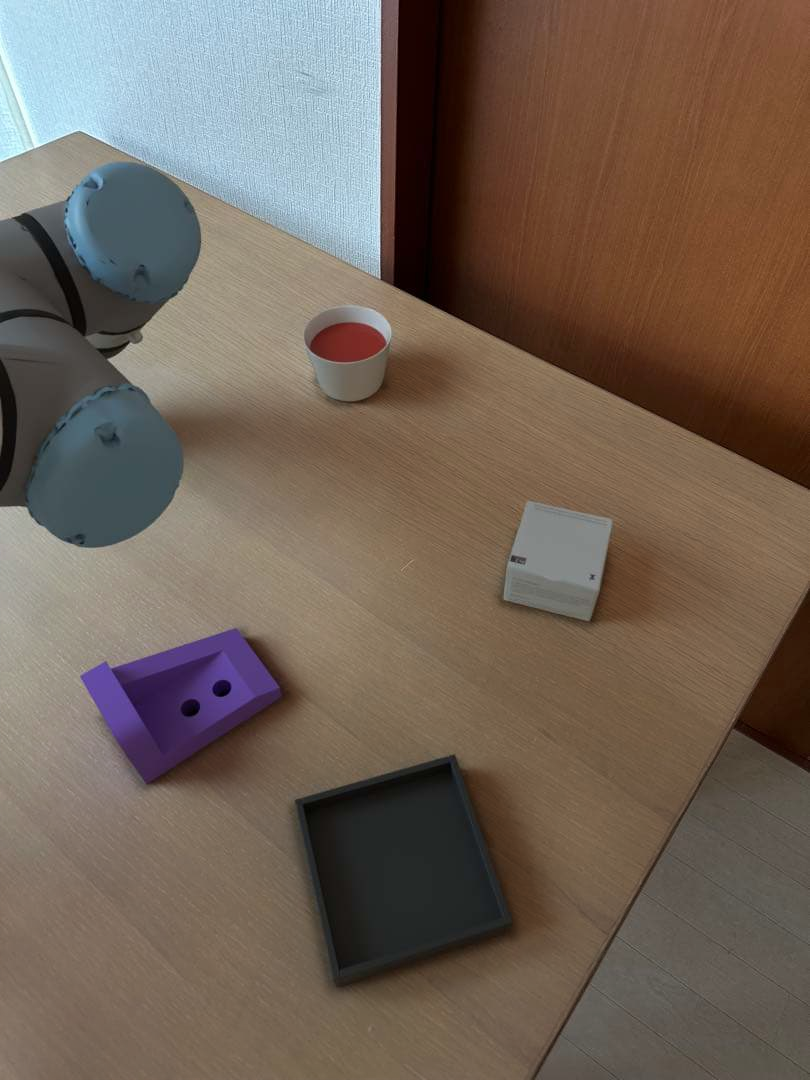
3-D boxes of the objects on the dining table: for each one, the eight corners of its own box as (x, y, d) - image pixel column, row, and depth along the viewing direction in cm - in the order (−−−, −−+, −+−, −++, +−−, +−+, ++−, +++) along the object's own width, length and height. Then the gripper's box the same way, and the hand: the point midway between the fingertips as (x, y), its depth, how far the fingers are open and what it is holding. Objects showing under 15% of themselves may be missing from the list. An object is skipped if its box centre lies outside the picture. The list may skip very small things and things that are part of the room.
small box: (605, 553, 75) (616, 518, 71) (589, 624, 70) (600, 591, 66) (520, 533, 76) (526, 497, 72) (500, 601, 72) (505, 567, 68)
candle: (394, 352, 92) (393, 305, 87) (391, 410, 86) (390, 363, 81) (312, 352, 92) (306, 305, 87) (305, 409, 86) (298, 362, 81)
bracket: (146, 784, 62) (120, 747, 57) (107, 716, 66) (79, 676, 60) (282, 696, 67) (270, 654, 61) (239, 637, 70) (224, 592, 65)
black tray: (336, 987, 54) (333, 980, 52) (298, 811, 61) (294, 799, 59) (509, 931, 56) (512, 922, 54) (453, 767, 63) (454, 753, 61)
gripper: (18, 405, 57) (-10, 451, 77) (219, 291, 65) (146, 360, 85) (-55, 308, 55) (-63, 380, 75) (162, 202, 63) (102, 294, 83)
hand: (48, 369), depth 80 cm, fingers closed on beverage can, 4 cm apart
